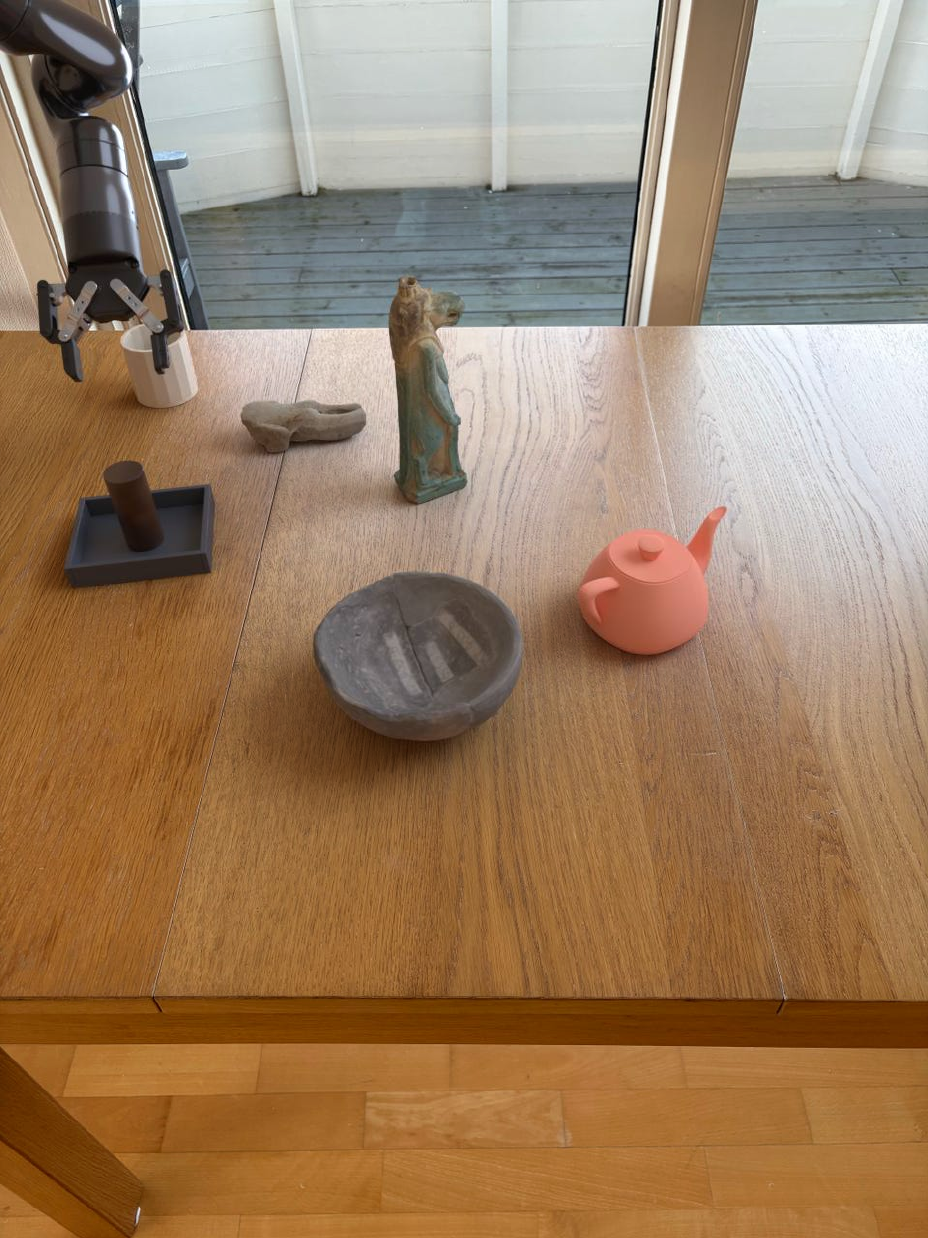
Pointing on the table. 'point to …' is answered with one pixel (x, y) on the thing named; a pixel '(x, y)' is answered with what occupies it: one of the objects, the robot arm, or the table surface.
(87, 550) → the tray
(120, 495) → the walnut peg
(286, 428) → the sculpture
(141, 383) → the cup
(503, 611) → the bowl
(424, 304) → the statue
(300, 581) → the table surface
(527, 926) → the table surface
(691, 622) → the teapot
